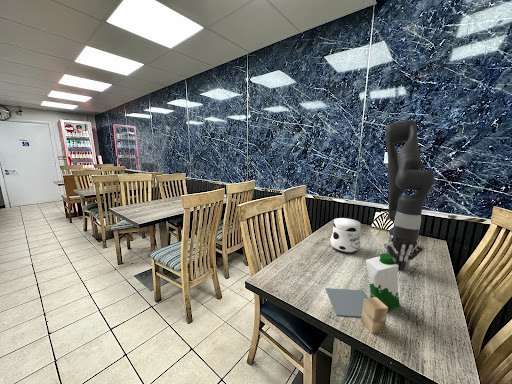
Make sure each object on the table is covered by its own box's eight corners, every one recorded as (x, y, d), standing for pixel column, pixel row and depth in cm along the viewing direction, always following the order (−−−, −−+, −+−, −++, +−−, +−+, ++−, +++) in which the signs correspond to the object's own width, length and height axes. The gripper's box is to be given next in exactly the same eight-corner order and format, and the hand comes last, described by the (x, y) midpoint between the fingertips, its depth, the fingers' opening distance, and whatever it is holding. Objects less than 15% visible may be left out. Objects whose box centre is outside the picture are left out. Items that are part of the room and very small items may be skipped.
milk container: (361, 257, 116) (365, 228, 113) (330, 252, 121) (332, 224, 118) (357, 245, 132) (360, 219, 129) (329, 241, 137) (331, 216, 134)
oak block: (373, 319, 71) (376, 297, 70) (384, 331, 66) (388, 307, 65) (360, 321, 70) (363, 298, 69) (371, 333, 66) (374, 309, 64)
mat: (362, 291, 86) (362, 290, 86) (381, 318, 72) (382, 317, 71) (325, 288, 87) (325, 288, 87) (336, 315, 73) (336, 314, 73)
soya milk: (404, 308, 74) (401, 260, 71) (381, 314, 74) (377, 266, 70) (387, 292, 83) (383, 249, 79) (366, 297, 83) (362, 254, 79)
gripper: (417, 222, 75) (410, 265, 78) (382, 220, 76) (376, 262, 79) (434, 229, 68) (425, 275, 71) (394, 227, 69) (387, 273, 71)
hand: (399, 269), depth 75 cm, fingers closed
